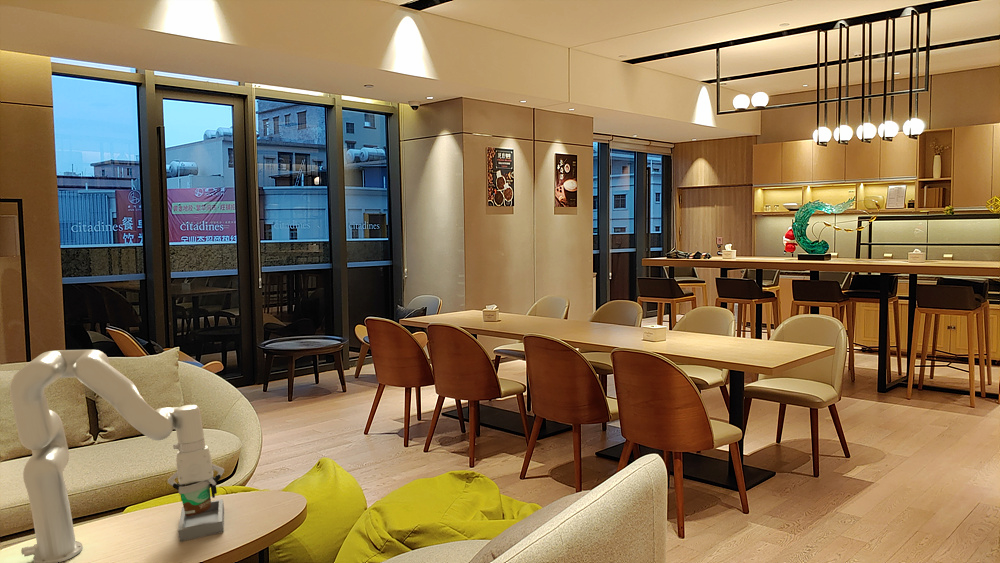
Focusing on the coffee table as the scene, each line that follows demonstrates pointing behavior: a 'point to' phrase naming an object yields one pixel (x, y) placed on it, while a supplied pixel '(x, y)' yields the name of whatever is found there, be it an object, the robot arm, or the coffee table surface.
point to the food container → (195, 497)
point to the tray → (202, 522)
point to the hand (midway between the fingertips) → (199, 498)
